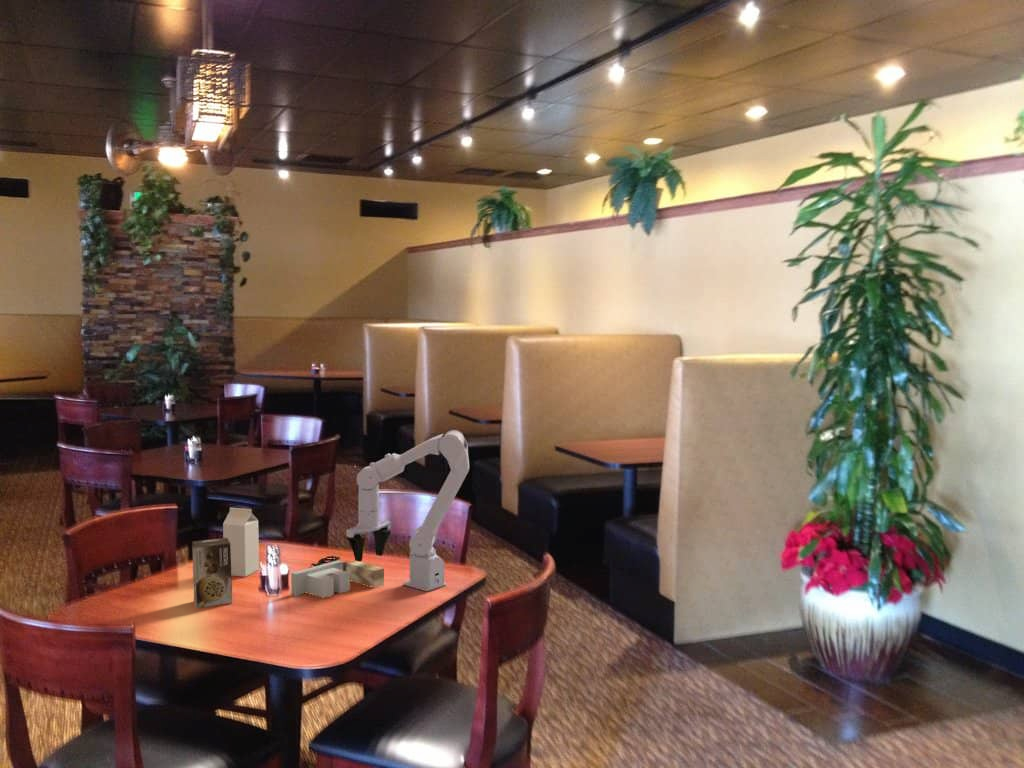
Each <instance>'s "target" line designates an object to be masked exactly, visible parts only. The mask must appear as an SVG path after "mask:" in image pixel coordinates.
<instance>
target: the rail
mask: <svg viewBox="0 0 1024 768" xmlns="http://www.w3.org/2000/svg"><path fill="white" fill-rule="evenodd" d="M343 571H346V572H350V580H352V581H351V582H353V581H355V582H354V583H356V582H359V583H362V584H365V585H368V586H367V587H369V586H372V587H374V588H373V589H376V588H375V587H377V588H379V587H378V586H380V587H382V586H381V585H384V586H385V568H384V567H380V566H378V565H377V566H376V565H373V564H370V563H367V562H364V561H361V562H359V561H355V560H352V561H343ZM359 583H358V584H359ZM362 584H361V585H362ZM365 585H364V586H365ZM372 587H371V588H372Z"/></svg>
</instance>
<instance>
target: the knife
mask: <svg viewBox="0 0 1024 768" xmlns="http://www.w3.org/2000/svg"><path fill="white" fill-rule="evenodd" d="M327 558H332V559H327ZM333 558H335V559H333ZM338 559H340V560H341V557H339V556H334V555H329V556H328V555H327V556H326V557H323V558H322V557H321V558H320V559H318V561H317V563H313V562H311V564H310V565H311V566H319V565H321V564H322V563H323V564H325V563H330V562H333V561H337V560H338Z"/></svg>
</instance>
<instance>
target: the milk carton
mask: <svg viewBox="0 0 1024 768" xmlns="http://www.w3.org/2000/svg"><path fill="white" fill-rule="evenodd" d="M222 533H223V535H222V536H223V537H222V538H228V540H229V542H230V543H231V573H232V577H234V576H235V577H244V578H245V577H248V576H249V575H252V574H254V573H255V572H258V571H259V570H260V553H259V552H260V549H259V548H260V546H259V543H260V542H259V540H260V539H259V519H258V518H257V517H256V516H255V514H253V512H252V508H243V507H241V508H238V507H229V512H228V513H227V516H226V518H225V519H224V521H223V524H222Z"/></svg>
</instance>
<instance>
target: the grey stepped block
mask: <svg viewBox="0 0 1024 768" xmlns="http://www.w3.org/2000/svg"><path fill="white" fill-rule="evenodd" d="M343 562H344V561H343V560H337V561H333V562H330V563H326V564H325V563H323V564H322V563H321V564H319V566H315V567H308V568H304V569H300V570H297V571H293V572H290V573H291V577H290V578H291V583H290V584H291V596H294V595H295V596H294V597H299V596H301V594H302V595H304V594H303V593H306V592H307V593H306V594H308V593H311V594H313V595H312V596H314V595H316V596H315V597H317V596H319V597H318V598H320V597H321V599H323V598H324V599H326V598H325V597H327V598H329V596H330V597H333V596H332V595H334V594H335V593H337V592H338V594H343V593H346V592H350V591H349V590H351V581H350V572H346V571H343ZM334 591H335V593H334ZM342 592H343V593H342ZM311 594H310V595H311ZM298 595H299V596H298Z"/></svg>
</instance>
